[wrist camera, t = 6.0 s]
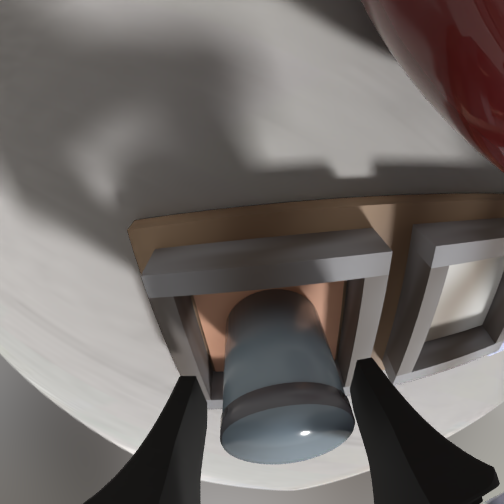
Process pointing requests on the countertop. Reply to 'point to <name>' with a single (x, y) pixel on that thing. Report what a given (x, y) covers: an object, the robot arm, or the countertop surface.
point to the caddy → (334, 278)
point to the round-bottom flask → (452, 62)
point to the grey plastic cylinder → (280, 382)
